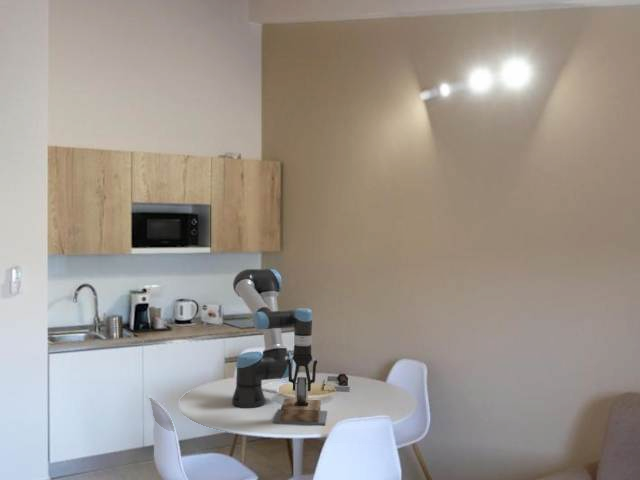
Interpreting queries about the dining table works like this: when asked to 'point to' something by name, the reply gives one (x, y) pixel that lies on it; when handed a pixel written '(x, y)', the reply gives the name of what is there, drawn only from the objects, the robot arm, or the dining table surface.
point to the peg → (301, 391)
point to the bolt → (342, 380)
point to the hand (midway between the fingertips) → (301, 398)
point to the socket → (301, 413)
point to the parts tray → (338, 388)
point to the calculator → (274, 386)
